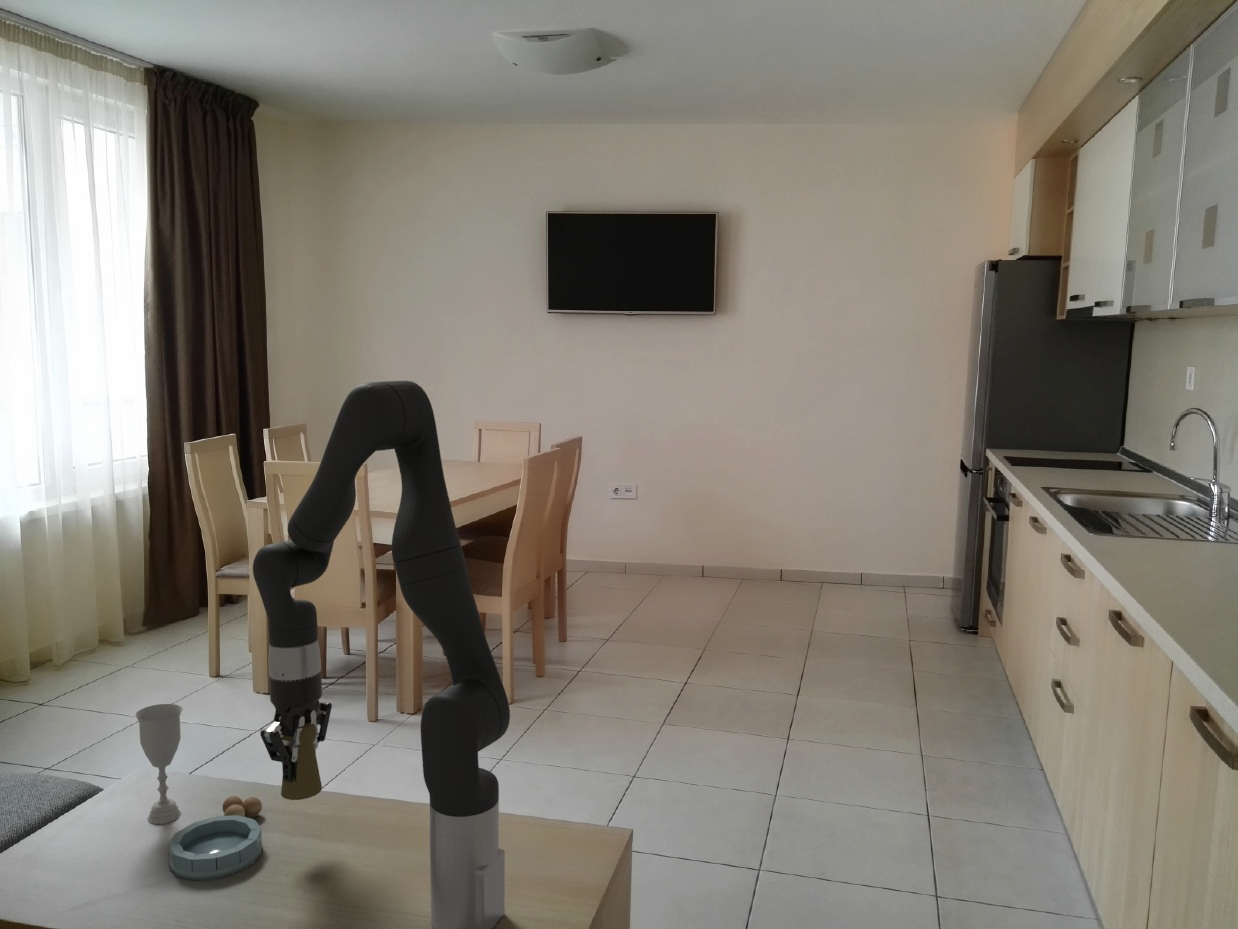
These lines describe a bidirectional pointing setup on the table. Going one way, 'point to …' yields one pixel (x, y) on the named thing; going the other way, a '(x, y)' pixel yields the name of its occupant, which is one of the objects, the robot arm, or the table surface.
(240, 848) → the dish
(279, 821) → the table surface
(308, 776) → the cork
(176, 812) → the chalice
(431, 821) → the robot arm
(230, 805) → the bead pile
